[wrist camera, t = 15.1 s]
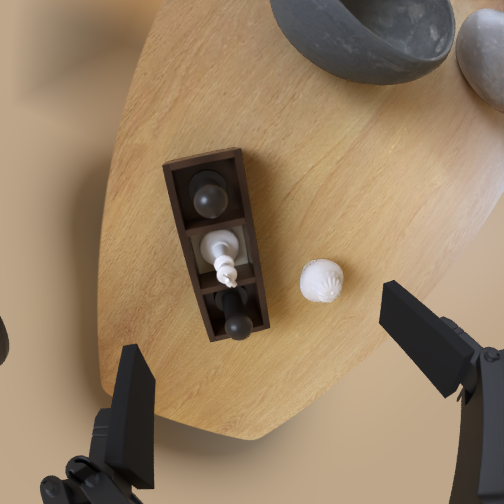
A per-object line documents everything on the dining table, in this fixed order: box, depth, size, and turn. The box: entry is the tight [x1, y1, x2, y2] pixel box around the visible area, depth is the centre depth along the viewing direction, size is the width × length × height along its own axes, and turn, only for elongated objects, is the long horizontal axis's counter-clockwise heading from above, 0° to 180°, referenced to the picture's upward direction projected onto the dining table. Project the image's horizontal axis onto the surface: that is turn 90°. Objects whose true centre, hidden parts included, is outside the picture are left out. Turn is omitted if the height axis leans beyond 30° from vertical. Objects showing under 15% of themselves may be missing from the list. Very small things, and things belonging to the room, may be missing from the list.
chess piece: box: [199, 228, 239, 288], centre depth 31 cm, size 5×5×10 cm
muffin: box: [300, 259, 344, 303], centre depth 38 cm, size 6×6×7 cm
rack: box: [162, 147, 270, 342], centre depth 34 cm, size 8×23×5 cm, turn 9°
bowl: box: [270, 0, 455, 85], centre depth 21 cm, size 20×20×15 cm
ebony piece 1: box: [188, 169, 228, 218], centre depth 29 cm, size 4×4×9 cm
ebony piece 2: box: [214, 286, 253, 340], centre depth 35 cm, size 4×4×9 cm
